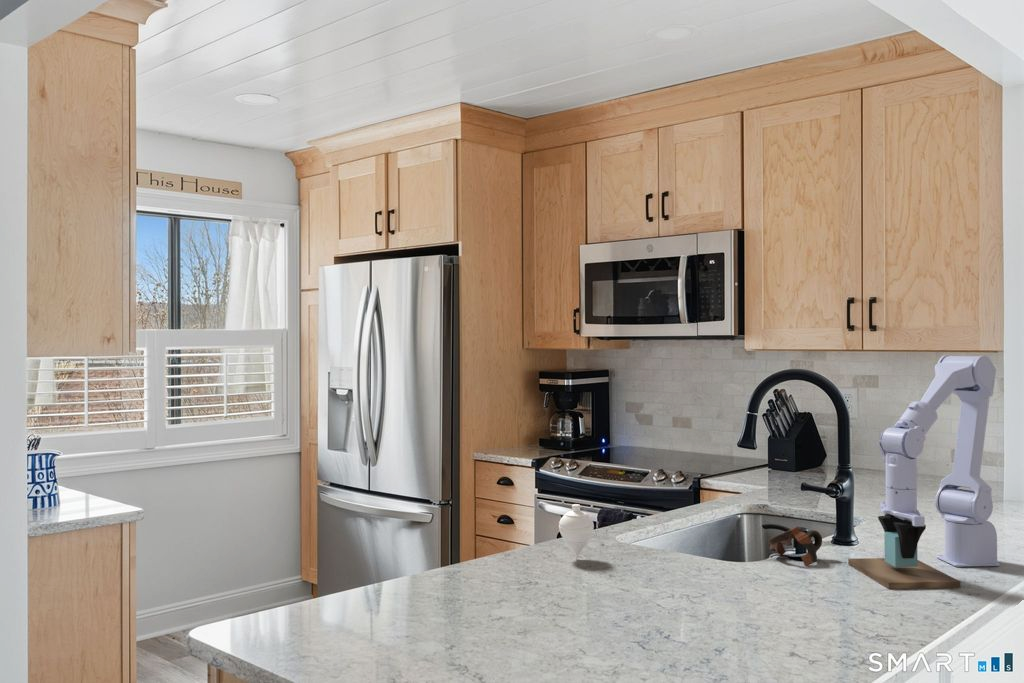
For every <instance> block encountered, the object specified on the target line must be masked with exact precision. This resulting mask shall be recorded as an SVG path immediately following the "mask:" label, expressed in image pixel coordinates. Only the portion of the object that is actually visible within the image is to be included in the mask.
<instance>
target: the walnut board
mask: <svg viewBox="0 0 1024 683" xmlns="http://www.w3.org/2000/svg"><path fill="white" fill-rule="evenodd" d="M847 561H848V565H849V566H850V567H852V568H854V569H855V570H857V571H858V572H860V573H862V574H863V575H865V576H867V577H868V578H870V579H872V580H873V581H874V582H876V583H878V584H880V585H882V586H883V587H885V588H886V589H888V590H905V589H906V590H907V589H909V588H910V589H909V590H911V589H912V590H915V589H914V588H918V590H919V588H921V589H958V588H959V589H961V587H962V586H961V581H960V580H958V579H957V578H955V577H953V576H951V575H949V574H947V573H945V572H942V571H941V570H939V569H937V568H935V567H932V566H931V565H929V564H926V563H924V562H923V561H921V560H919V559H918V567H894V566H892V565H891V564H889V563H887V562H885V557H880V558H879V557H874V558H873V557H872V558H867V557H866V558H865V557H863V558H861V557H860V558H848V560H847Z"/></svg>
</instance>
